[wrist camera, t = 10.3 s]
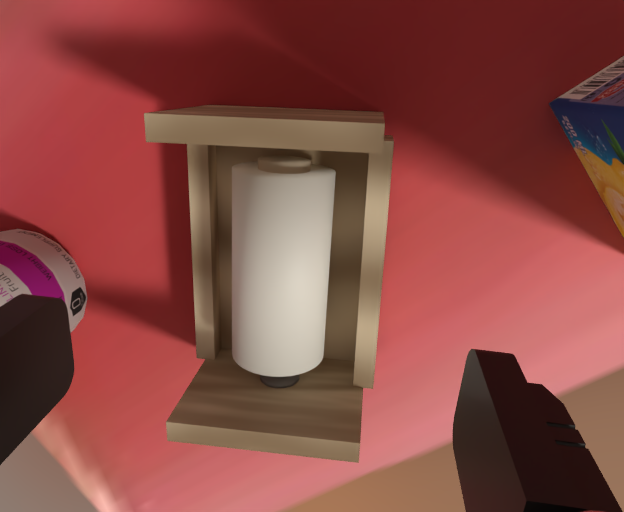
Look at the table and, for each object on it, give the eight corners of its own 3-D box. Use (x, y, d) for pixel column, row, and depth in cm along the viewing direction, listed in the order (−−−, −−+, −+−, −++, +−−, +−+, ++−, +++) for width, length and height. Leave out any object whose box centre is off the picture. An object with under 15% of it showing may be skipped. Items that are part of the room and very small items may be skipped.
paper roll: (246, 149, 30) (218, 163, 25) (339, 156, 29) (332, 171, 24) (244, 333, 34) (220, 378, 28) (327, 341, 33) (318, 389, 28)
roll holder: (200, 104, 30) (130, 112, 22) (393, 112, 29) (399, 124, 21) (209, 355, 36) (156, 439, 27) (372, 370, 34) (370, 464, 26)
